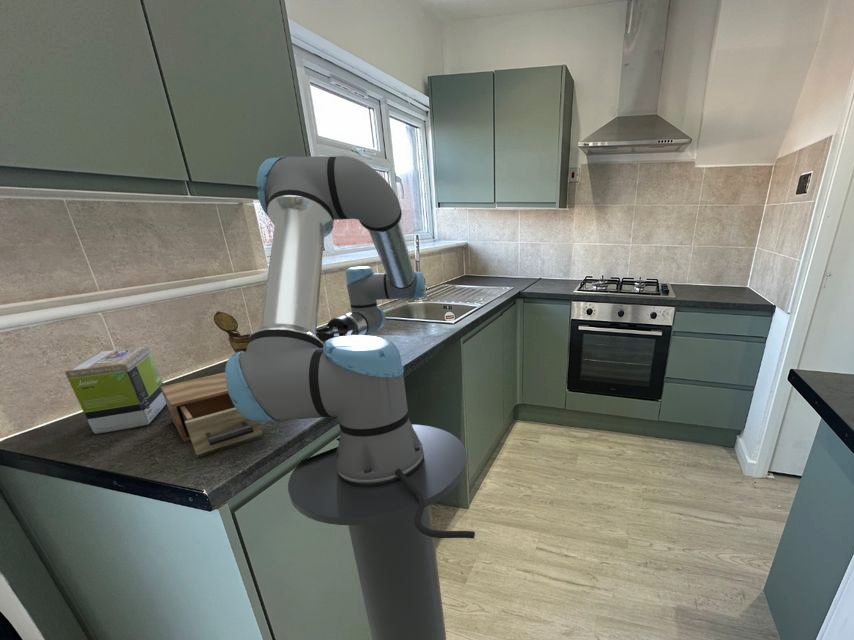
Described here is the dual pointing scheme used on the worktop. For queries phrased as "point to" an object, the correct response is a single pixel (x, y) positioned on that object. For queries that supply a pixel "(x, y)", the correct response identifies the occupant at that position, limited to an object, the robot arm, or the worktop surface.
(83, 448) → the worktop surface
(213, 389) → the cabinet
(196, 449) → the drawer
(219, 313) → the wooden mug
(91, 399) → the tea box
